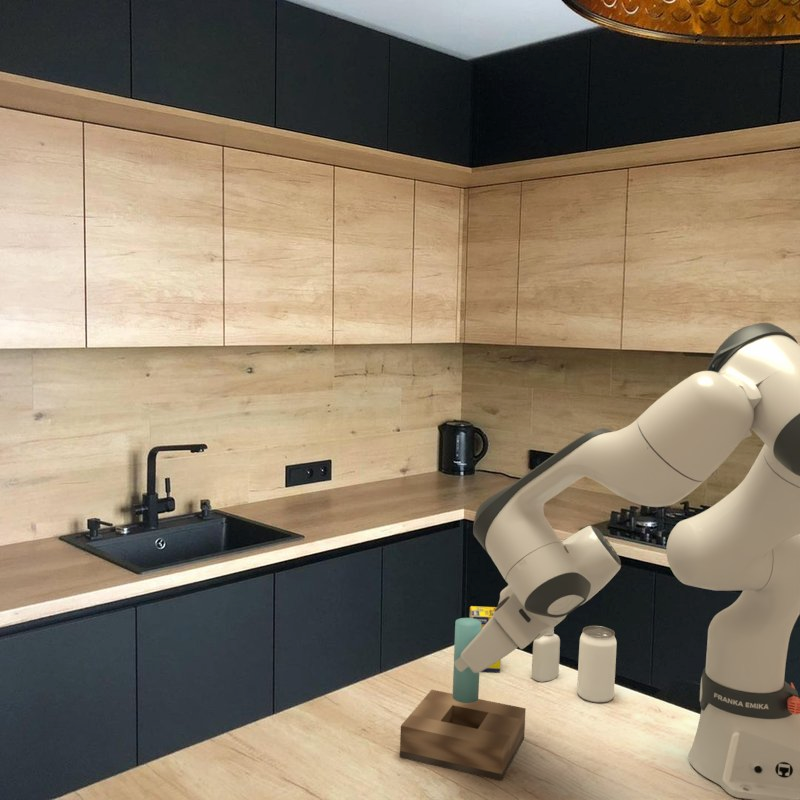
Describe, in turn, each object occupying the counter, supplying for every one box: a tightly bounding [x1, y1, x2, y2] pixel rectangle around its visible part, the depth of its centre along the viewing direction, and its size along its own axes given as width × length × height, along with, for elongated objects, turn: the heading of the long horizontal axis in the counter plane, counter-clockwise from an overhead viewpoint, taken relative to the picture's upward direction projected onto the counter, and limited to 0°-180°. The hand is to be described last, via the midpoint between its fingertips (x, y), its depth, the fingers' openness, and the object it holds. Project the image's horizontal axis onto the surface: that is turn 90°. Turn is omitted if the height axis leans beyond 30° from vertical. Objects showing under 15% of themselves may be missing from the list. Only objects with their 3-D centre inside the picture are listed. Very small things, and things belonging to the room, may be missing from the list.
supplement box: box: [468, 605, 501, 673], centre depth 166 cm, size 6×6×11 cm
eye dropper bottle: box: [531, 627, 561, 683], centre depth 161 cm, size 4×6×12 cm
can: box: [576, 625, 617, 704], centre depth 154 cm, size 6×6×12 cm
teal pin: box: [452, 617, 481, 703], centre depth 133 cm, size 4×4×12 cm
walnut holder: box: [399, 689, 527, 782], centre depth 134 cm, size 16×14×5 cm
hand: (463, 660), depth 133 cm, fingers closed on teal pin, 4 cm apart
